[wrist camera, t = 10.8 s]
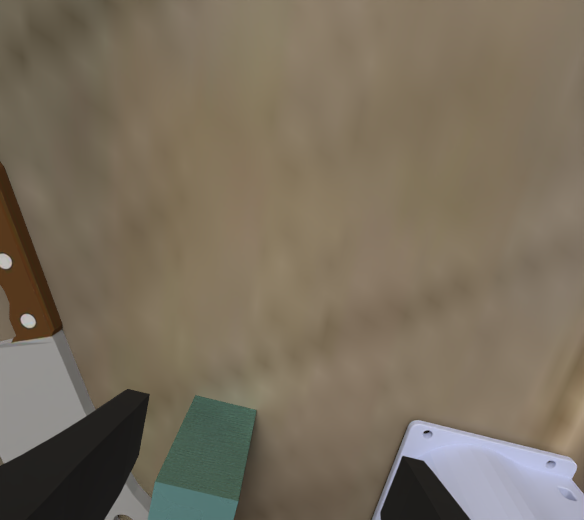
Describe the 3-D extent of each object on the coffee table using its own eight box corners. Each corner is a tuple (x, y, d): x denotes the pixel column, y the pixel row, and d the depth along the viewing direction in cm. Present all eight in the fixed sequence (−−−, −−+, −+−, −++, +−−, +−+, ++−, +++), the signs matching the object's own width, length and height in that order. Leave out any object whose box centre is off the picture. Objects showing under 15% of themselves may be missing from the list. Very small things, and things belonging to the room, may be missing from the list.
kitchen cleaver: (-163, 180, 19) (19, 137, 18) (-139, 178, 20) (35, 138, 19) (22, 559, 25) (168, 549, 24) (34, 544, 26) (174, 533, 25)
